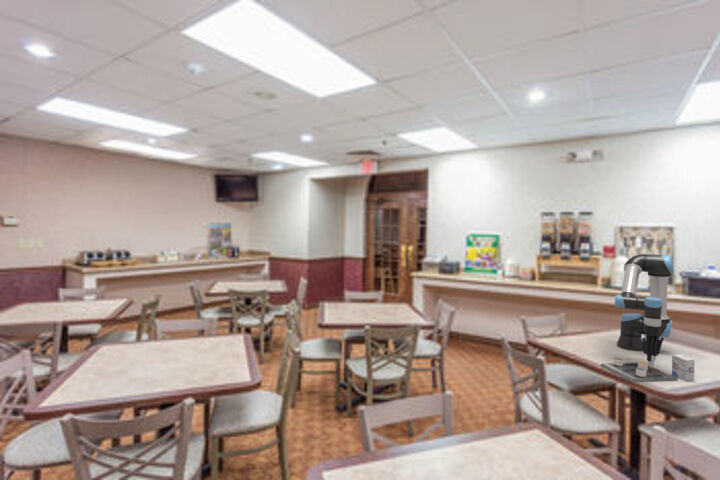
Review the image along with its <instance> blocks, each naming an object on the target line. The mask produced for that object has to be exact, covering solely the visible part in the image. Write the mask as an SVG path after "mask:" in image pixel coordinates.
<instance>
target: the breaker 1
mask: <svg viewBox="0 0 720 480" xmlns="http://www.w3.org/2000/svg"><path fill="white" fill-rule="evenodd" d="M613 363H614V364H615V365H617V366H623V363H624V360H623V359H622V358H620V357H614V358H613Z"/></svg>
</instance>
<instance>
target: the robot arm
mask: <svg viewBox="0 0 720 480" xmlns="http://www.w3.org/2000/svg"><path fill="white" fill-rule="evenodd" d="M674 267H675V266H674V260H673V257H672V256H671V255H668V254H650V253H649V254H647V253H640V254H636V255H633V256H631V257H630V258H628V259H627V260H626V261H625V263H624V265H623V271H624V275H623V280H622V285H621V290H620V294H616V295H615V296H614V297H615V299H614V301H615V302H614V305H615V307H617V308H620V309H629V310H636V311H644V314H642V313H638V312H637V313H636V312H635V313H634V312H627V313H625V312H624V313H622V314H621V316H620V331H619V332H620V335H619V337H618V340H617V342H616V346H617V347H618V348H621V349H624V350H629V351H635V352H636V351H638V352H643V354H646V360H647V365H648V366H649V367H652V368H655V362H656V357H658V355H660V353H661V350H662V349H661V348H662V345H663V342H664V340H665V338H669V337H670V336H671V335H670V334H671V330H672V326H673V325H672V324H673V321H672V319H670V317H669V316H668V315H667V310H668V309H667V308H668V286H669V284H668V283H669V282H668V281H669V279H670V278H671V277H672V274H673V275H674V274H675V268H674ZM643 272H644V273H647V276H648V277H649V278H650V281H649V282H650V285H649V286H650V287H649V296H646V297H640V296H637V291H638V284H639V279H640V274H641V273H643ZM642 335H643V336H642Z"/></svg>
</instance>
